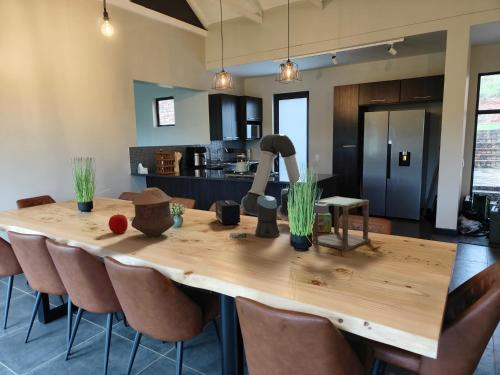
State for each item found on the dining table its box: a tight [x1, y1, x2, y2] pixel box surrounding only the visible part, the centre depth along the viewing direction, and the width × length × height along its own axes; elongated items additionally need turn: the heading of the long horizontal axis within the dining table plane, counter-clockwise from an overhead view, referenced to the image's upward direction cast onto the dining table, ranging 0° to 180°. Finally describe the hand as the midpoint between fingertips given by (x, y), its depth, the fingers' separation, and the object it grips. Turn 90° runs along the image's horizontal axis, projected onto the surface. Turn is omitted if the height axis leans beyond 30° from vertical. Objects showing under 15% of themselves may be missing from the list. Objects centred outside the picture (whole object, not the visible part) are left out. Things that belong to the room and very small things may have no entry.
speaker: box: [215, 199, 241, 226], centre depth 243 cm, size 22×13×15 cm, turn 17°
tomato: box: [108, 213, 129, 235], centre depth 220 cm, size 12×12×13 cm
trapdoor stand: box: [311, 195, 371, 252], centre depth 191 cm, size 25×23×24 cm
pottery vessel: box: [130, 187, 176, 238], centre depth 211 cm, size 26×26×30 cm
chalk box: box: [318, 211, 333, 233], centre depth 214 cm, size 9×9×15 cm
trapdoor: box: [314, 196, 363, 214], centre depth 184 cm, size 36×16×4 cm, turn 132°
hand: (324, 218), depth 213 cm, fingers closed on chalk box, 12 cm apart
